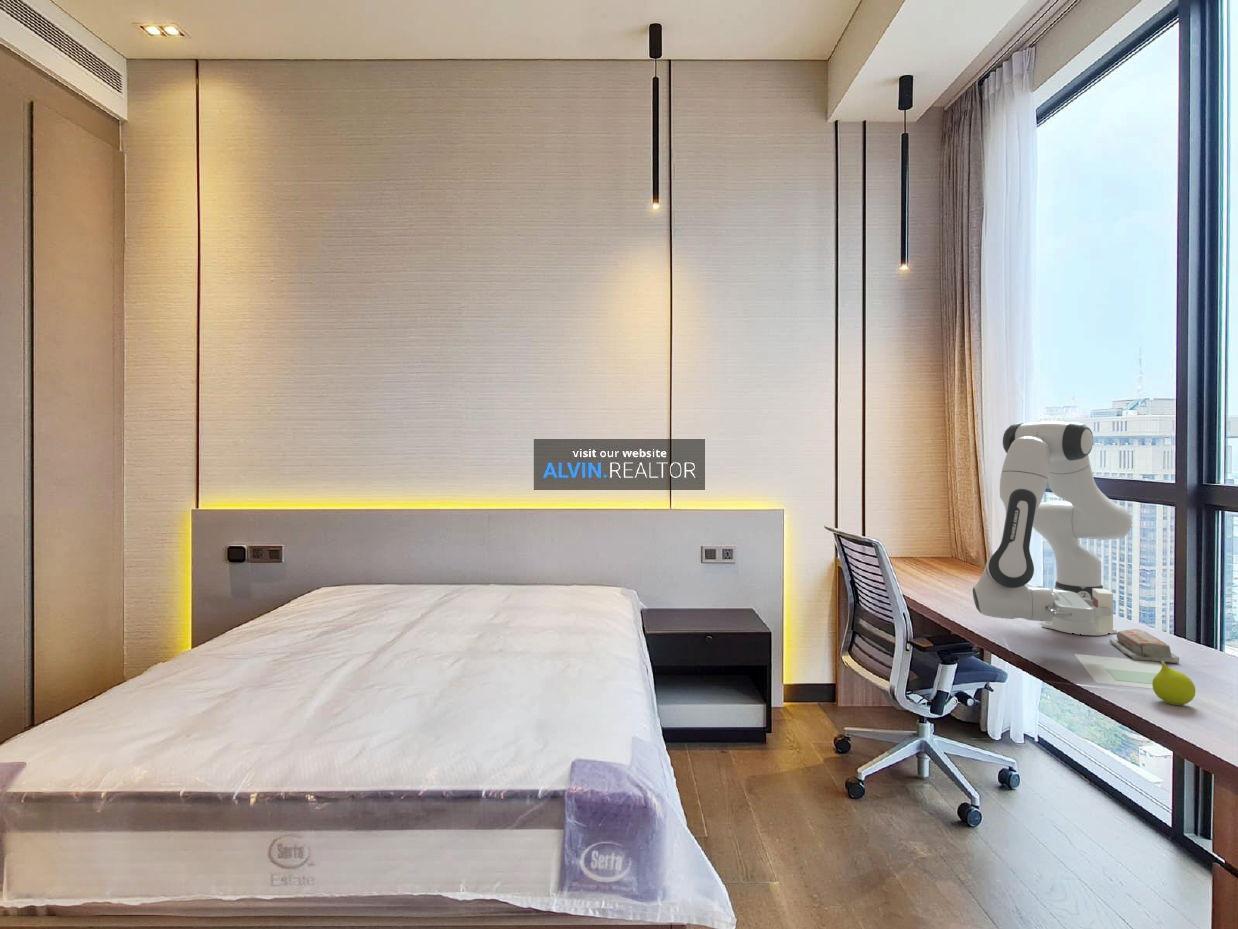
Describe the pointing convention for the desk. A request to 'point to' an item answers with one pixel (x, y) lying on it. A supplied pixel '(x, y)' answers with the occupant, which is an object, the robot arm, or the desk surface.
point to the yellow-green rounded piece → (1173, 686)
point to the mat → (1120, 670)
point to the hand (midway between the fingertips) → (1106, 608)
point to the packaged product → (1143, 646)
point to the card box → (1103, 600)
